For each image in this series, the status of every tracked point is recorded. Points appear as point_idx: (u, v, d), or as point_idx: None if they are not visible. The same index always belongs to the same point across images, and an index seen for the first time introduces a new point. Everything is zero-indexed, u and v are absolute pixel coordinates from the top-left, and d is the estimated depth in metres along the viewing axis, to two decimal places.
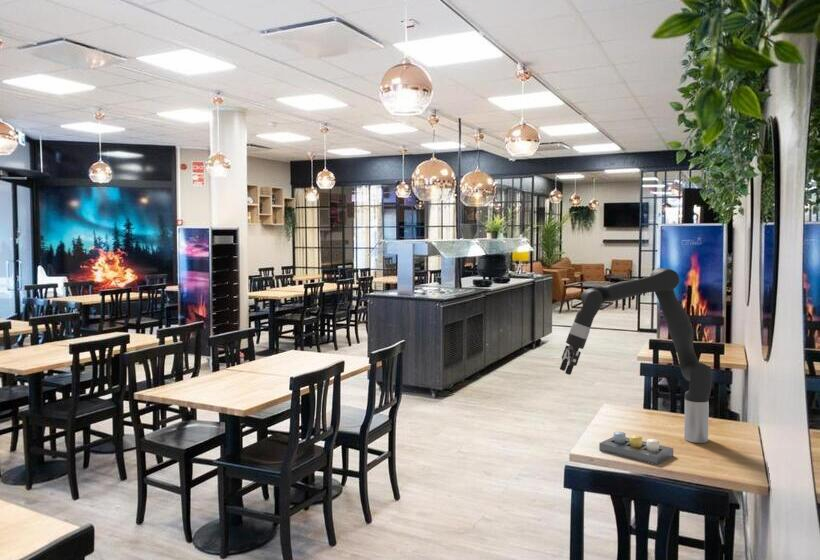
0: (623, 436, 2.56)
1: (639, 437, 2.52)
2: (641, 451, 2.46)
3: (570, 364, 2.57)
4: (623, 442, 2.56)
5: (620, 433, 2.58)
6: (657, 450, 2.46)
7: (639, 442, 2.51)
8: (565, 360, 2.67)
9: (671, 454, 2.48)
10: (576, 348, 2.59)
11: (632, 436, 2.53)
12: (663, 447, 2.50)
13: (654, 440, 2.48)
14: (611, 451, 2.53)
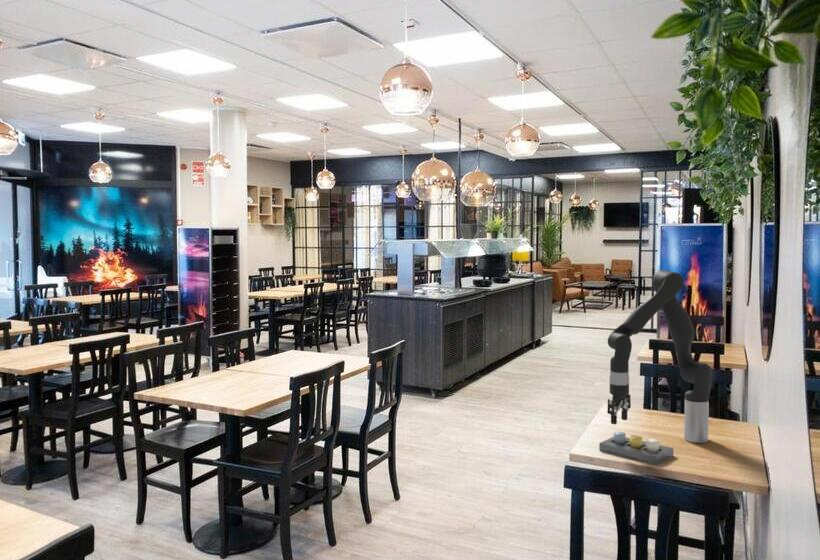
0: (623, 436, 2.56)
1: (639, 437, 2.52)
2: (641, 451, 2.46)
3: None
4: (623, 442, 2.56)
5: (620, 433, 2.58)
6: (657, 450, 2.46)
7: (639, 442, 2.51)
8: (624, 409, 2.60)
9: (671, 454, 2.48)
10: (614, 396, 2.55)
11: (632, 436, 2.53)
12: (663, 447, 2.50)
13: (654, 440, 2.48)
14: (611, 451, 2.53)
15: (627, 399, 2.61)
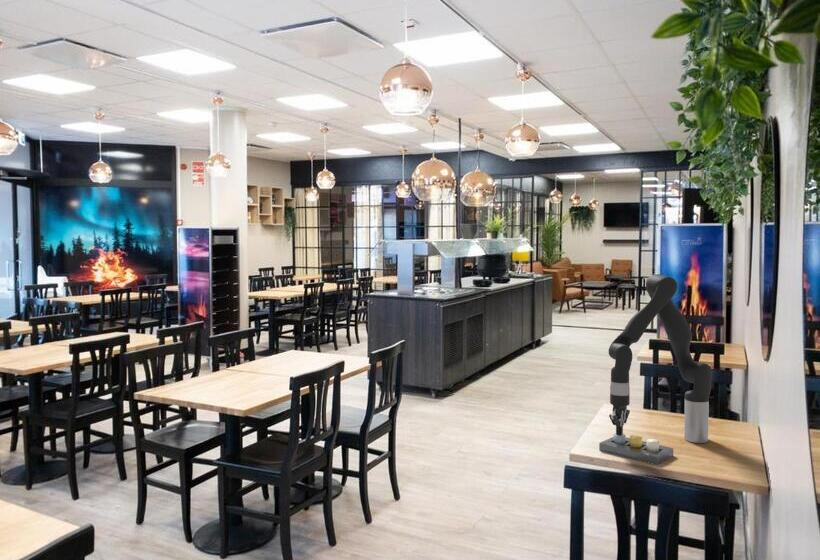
0: (623, 438, 2.56)
1: (639, 437, 2.52)
2: (641, 451, 2.46)
3: (615, 425, 2.57)
4: None
5: None
6: (657, 450, 2.46)
7: (639, 442, 2.51)
8: None
9: (671, 454, 2.48)
10: (614, 406, 2.54)
11: (632, 436, 2.53)
12: (663, 447, 2.50)
13: (654, 440, 2.48)
14: (611, 451, 2.53)
15: (625, 413, 2.60)
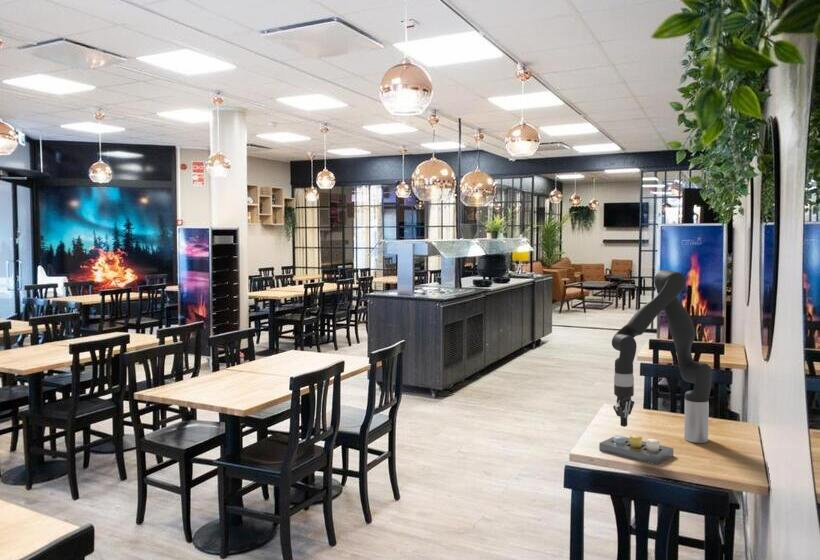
0: (623, 440, 2.56)
1: (639, 437, 2.52)
2: (641, 451, 2.46)
3: None
4: None
5: (620, 437, 2.58)
6: (657, 450, 2.46)
7: (639, 442, 2.51)
8: None
9: (671, 454, 2.48)
10: (619, 398, 2.53)
11: (632, 436, 2.53)
12: (663, 447, 2.50)
13: (654, 440, 2.48)
14: (611, 451, 2.53)
15: (630, 405, 2.59)
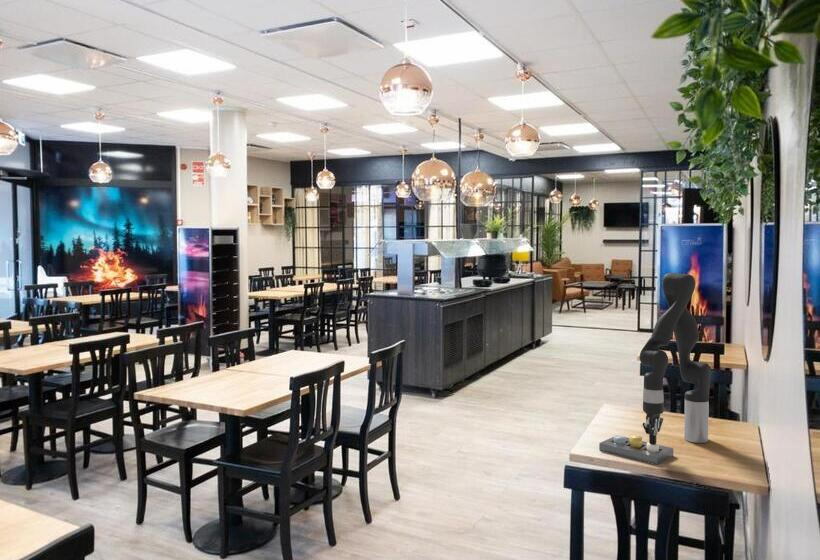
0: (623, 440, 2.56)
1: (639, 437, 2.52)
2: (641, 451, 2.46)
3: (649, 434, 2.47)
4: None
5: (620, 437, 2.58)
6: None
7: (639, 442, 2.51)
8: None
9: (671, 454, 2.48)
10: (648, 415, 2.44)
11: (632, 436, 2.53)
12: (663, 447, 2.50)
13: None
14: (611, 451, 2.53)
15: (659, 422, 2.50)
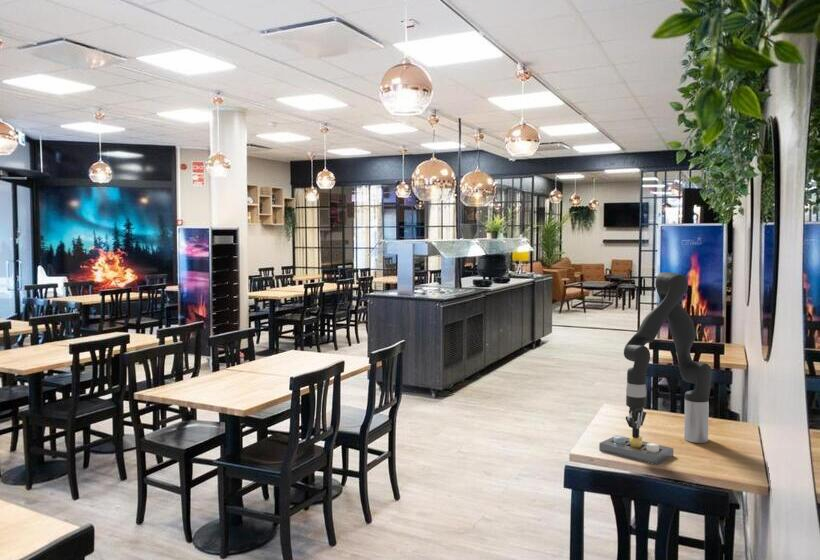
0: (623, 440, 2.56)
1: (639, 437, 2.52)
2: (641, 451, 2.46)
3: (632, 427, 2.52)
4: None
5: (620, 437, 2.58)
6: None
7: (639, 443, 2.51)
8: None
9: (671, 454, 2.48)
10: (631, 408, 2.49)
11: None
12: (663, 447, 2.50)
13: (654, 444, 2.48)
14: (611, 451, 2.53)
15: (642, 415, 2.55)
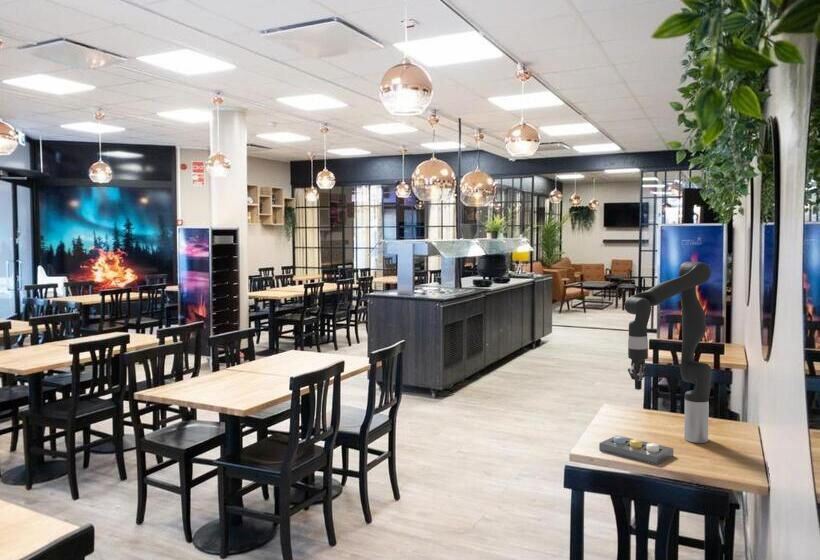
0: (623, 440, 2.56)
1: (639, 441, 2.52)
2: (641, 451, 2.46)
3: (634, 379, 2.55)
4: None
5: (620, 437, 2.58)
6: None
7: (639, 447, 2.51)
8: None
9: (671, 454, 2.48)
10: (633, 361, 2.53)
11: (632, 440, 2.53)
12: (663, 447, 2.50)
13: (654, 444, 2.48)
14: (611, 451, 2.53)
15: (644, 368, 2.58)
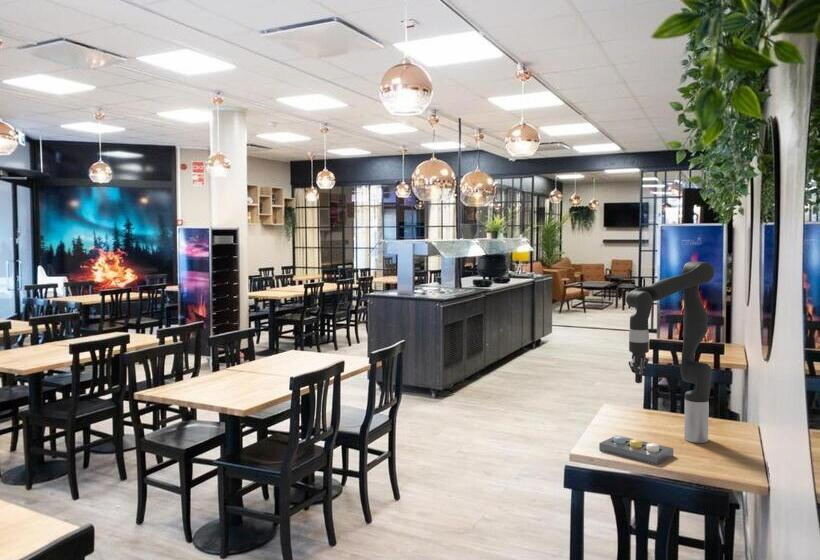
0: (623, 440, 2.56)
1: (639, 441, 2.52)
2: (641, 451, 2.46)
3: (635, 372, 2.56)
4: None
5: (620, 437, 2.58)
6: None
7: (639, 447, 2.51)
8: None
9: (671, 454, 2.48)
10: (634, 354, 2.54)
11: (632, 440, 2.53)
12: (663, 447, 2.50)
13: (654, 444, 2.48)
14: (611, 451, 2.53)
15: (644, 362, 2.59)
